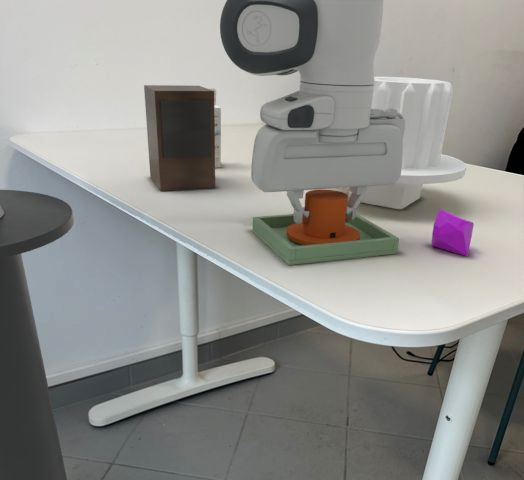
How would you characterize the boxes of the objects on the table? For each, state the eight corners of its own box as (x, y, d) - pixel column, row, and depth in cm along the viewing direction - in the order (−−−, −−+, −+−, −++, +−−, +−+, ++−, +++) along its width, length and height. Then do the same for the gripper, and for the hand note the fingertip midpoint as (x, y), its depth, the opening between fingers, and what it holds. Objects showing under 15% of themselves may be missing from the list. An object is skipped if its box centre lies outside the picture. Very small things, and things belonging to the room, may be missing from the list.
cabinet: (161, 191, 94) (154, 90, 86) (150, 178, 103) (143, 85, 94) (215, 188, 97) (214, 91, 89) (201, 175, 106) (199, 85, 98)
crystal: (427, 251, 72) (434, 217, 70) (432, 239, 77) (439, 207, 74) (467, 257, 71) (476, 223, 68) (470, 245, 75) (478, 212, 73)
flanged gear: (431, 230, 80) (459, 90, 71) (287, 201, 92) (294, 77, 82) (473, 196, 99) (500, 82, 89) (349, 176, 110) (360, 72, 100)
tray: (288, 265, 66) (289, 249, 65) (252, 231, 77) (252, 216, 76) (397, 253, 71) (399, 238, 70) (348, 223, 82) (349, 209, 81)
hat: (304, 251, 68) (308, 207, 65) (275, 227, 76) (277, 187, 73) (373, 244, 71) (379, 202, 68) (338, 222, 79) (342, 183, 76)
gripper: (393, 105, 71) (378, 209, 78) (248, 106, 65) (246, 219, 72) (421, 111, 66) (402, 221, 73) (266, 113, 60) (262, 234, 67)
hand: (324, 220), depth 72 cm, fingers closed on hat, 5 cm apart
